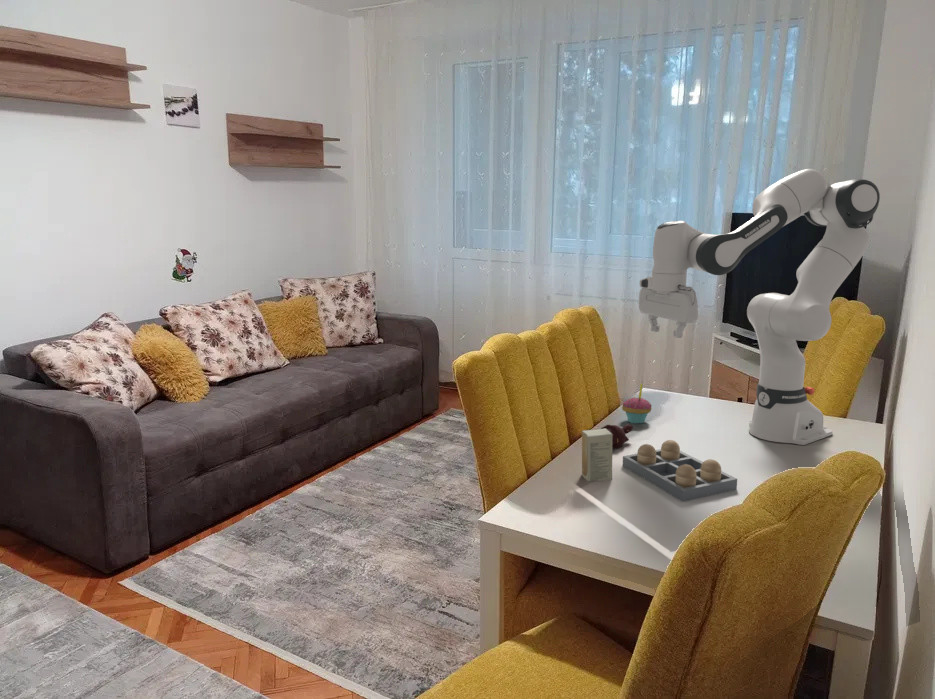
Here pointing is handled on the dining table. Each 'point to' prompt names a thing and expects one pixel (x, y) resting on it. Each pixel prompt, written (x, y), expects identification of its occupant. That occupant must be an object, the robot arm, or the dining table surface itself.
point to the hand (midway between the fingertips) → (666, 334)
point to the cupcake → (636, 408)
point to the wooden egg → (670, 450)
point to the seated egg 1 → (646, 454)
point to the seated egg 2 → (685, 476)
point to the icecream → (618, 434)
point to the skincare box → (597, 454)
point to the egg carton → (665, 476)
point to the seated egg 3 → (710, 471)
